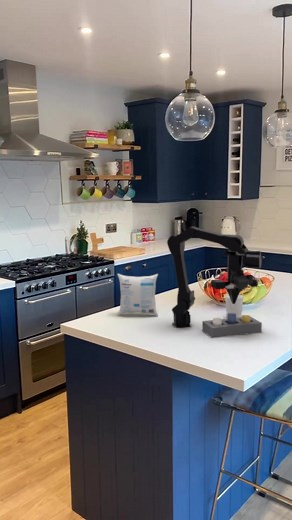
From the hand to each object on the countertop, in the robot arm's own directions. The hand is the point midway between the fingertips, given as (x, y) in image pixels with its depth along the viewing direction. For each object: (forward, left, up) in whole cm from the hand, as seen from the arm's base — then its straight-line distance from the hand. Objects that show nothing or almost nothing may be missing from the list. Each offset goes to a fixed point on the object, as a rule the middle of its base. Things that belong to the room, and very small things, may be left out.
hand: (233, 303), depth 187 cm
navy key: (-1, 0, -8) cm, 8 cm away
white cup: (+9, +18, -12) cm, 23 cm away
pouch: (-32, +35, -12) cm, 49 cm away
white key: (-7, 0, -10) cm, 12 cm away
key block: (-1, 0, -12) cm, 12 cm away
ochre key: (+6, 0, -10) cm, 11 cm away
